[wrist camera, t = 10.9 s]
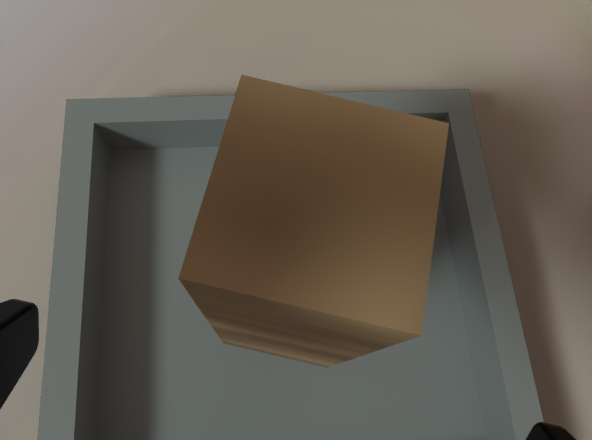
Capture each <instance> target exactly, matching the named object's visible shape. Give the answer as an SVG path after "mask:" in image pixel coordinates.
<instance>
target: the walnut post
mask: <svg viewBox="0 0 592 440" xmlns="http://www.w3.org/2000/svg"><path fill="white" fill-rule="evenodd" d="M448 128H449V123H445V122H441V121H437V120H433V119H428V118H424V117H420V116H415V115H411V114H407V113H403V112H398V111H394V110H390V109H386V108H381V107H377V106H373V105H368V104H364V103H360V102H356V101H351V100H347V99H343V98H339V97H334V96H330V95H326V94H321V93H317V92H313V91H309V90H304V89H300V88H296V87H292V86H287V85H283V84H279V83H275V82H270V81H266V80H262V79H257V78H253V77H249V76H245V75H241V78H240V82H239V85H238V88H237V91H236V94H235V98H234V101H233V104H232V107H231V110H230V114H229V117H228V120H227V123H226V126H225V130H224V133H223V136H222V139H221V143H220V146H219V149H218V152H217V155H216V159H215V162H214V165H213V168H212V171H211V175H210V178H209V181H208V184H207V187H206V191H205V194H204V197H203V200H202V204H201V207H200V210H199V213H198V216H197V220H196V223H195V226H194V229H193V232H192V236H191V239H190V242H189V245H188V249H187V252H186V255H185V258H184V261H183V265H182V268H181V271H180V274H179V277H178V279H179V280H180V282H181V283H182V285H183V286H184V287H185V289H186V290H187V292H188V293H189V295H190V296H191V298H192V299H193V300H194V302H195V303H196V305H197V306H198V308H199V309H200V311H201V312H202V313H203V315H204V316H205V318H206V319H207V321H208V322H209V324H210V325H211V326H212V328H213V329H214V331H215V332H216V334H217V335H218V337H219V338H220V339H221V341H222V342H223V343H224V344H228V345H232V346H237V347H241V348H245V349H249V350H254V351H258V352H262V353H266V354H271V355H275V356H279V357H283V358H288V359H292V360H296V361H300V362H305V363H309V364H313V365H317V366H322V367H326V368H328V367H331V366H334V365H337V364H340V363H343V362H346V361H349V360H352V359H355V358H358V357H361V356H363V355H366V354H369V353H372V352H375V351H378V350H381V349H384V348H387V347H390V346H393V345H396V344H399V343H402V342H404V341H407V340H410V339H413V338H416V337H419V336H422V329H423V321H424V313H425V305H426V298H427V290H428V282H429V275H430V267H431V259H432V251H433V244H434V236H435V228H436V220H437V213H438V205H439V197H440V189H441V182H442V174H443V166H444V158H445V151H446V143H447V135H448Z"/></svg>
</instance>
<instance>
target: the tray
mask: <svg viewBox="0 0 592 440" xmlns="http://www.w3.org/2000/svg"><path fill="white" fill-rule="evenodd" d="M321 94H326V95H330V96H334V97H339V98H343V99H347V100H351V101H356V102H360V103H364V104H368V105H373V106H377V107H381V108H386V109H390V110H394V111H398V112H403V113H407V114H411V115H415V116H420V117H424V118H428V119H433V120H437V121H441V122H445V123H449V128H448V135H447V143H446V151H445V158H444V166H443V174H442V182H441V189H440V197H439V205H438V213H437V220H436V228H435V236H434V244H433V251H432V259H431V267H430V275H429V282H428V290H427V298H426V305H425V313H424V321H423V329H422V336H419V337H416V338H413V339H410V340H407V341H404V342H402V343H399V344H396V345H393V346H390V347H387V348H384V349H381V350H378V351H375V352H372V353H369V354H366V355H363V356H361V357H358V358H355V359H352V360H349V361H346V362H343V363H340V364H337V365H334V366H331V367H328V368H326V367H322V366H317V365H313V364H309V363H305V362H300V361H296V360H292V359H288V358H283V357H279V356H275V355H271V354H266V353H262V352H258V351H254V350H249V349H245V348H241V347H237V346H232V345H228V344H224V343H223V342H222V341H221V339H220V338H219V337H218V335H217V334H216V332H215V331H214V329H213V328H212V326H211V325H210V324H209V322H208V321H207V319H206V318H205V316H204V315H203V313H202V312H201V311H200V309H199V308H198V306H197V305H196V303H195V302H194V300H193V299H192V298H191V296H190V295H189V293H188V292H187V290H186V289H185V287H184V286H183V285H182V283H181V282H180V280H179V279H178V277H179V274H180V271H181V268H182V265H183V261H184V258H185V255H186V252H187V249H188V245H189V242H190V239H191V236H192V232H193V229H194V226H195V223H196V220H197V216H198V213H199V210H200V207H201V204H202V200H203V197H204V194H205V191H206V187H207V184H208V181H209V178H210V175H211V171H212V168H213V165H214V162H215V159H216V155H217V152H218V149H219V146H220V143H221V139H222V136H223V133H224V130H225V126H226V123H227V120H228V117H229V114H230V110H231V107H232V104H233V101H234V98H235V95H217V96H177V97H137V98H97V99H66V111H65V122H64V134H63V146H62V157H61V169H60V181H59V193H58V204H57V216H56V228H55V240H54V251H53V263H52V275H51V286H50V298H49V310H48V322H47V333H46V345H45V357H44V369H43V380H42V392H41V404H40V416H39V427H38V439H37V440H526V438H527V436H528V434H529V433H530V431H531V429H532V427H533V426H534V425H535V424H536V423H538V422H544V421H543V416H542V412H541V407H540V403H539V398H538V394H537V390H536V385H535V381H534V376H533V372H532V368H531V363H530V359H529V354H528V350H527V346H526V341H525V337H524V332H523V328H522V323H521V319H520V315H519V310H518V306H517V301H516V297H515V293H514V288H513V284H512V279H511V275H510V271H509V266H508V262H507V257H506V253H505V248H504V244H503V240H502V235H501V231H500V226H499V222H498V218H497V213H496V209H495V204H494V200H493V196H492V191H491V187H490V182H489V178H488V173H487V169H486V165H485V160H484V156H483V151H482V147H481V143H480V138H479V134H478V129H477V125H476V120H475V116H474V112H473V107H472V103H471V98H470V94H469V90H468V89H456V90H416V91H377V92H337V93H321Z"/></svg>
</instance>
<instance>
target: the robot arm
mask: <svg viewBox="0 0 592 440" xmlns="http://www.w3.org/2000/svg"><path fill="white" fill-rule="evenodd" d="M38 342H39V316H38V308H37V306H36V305H35V304H34V303H30V302H26V301H22V300H18V299H11V300H7V301H5V302H2V303H0V409H1V407H2V406H3V404H4V403H5V401H6V399H7V398H8V396H9V395H10V393H11V391H12V390H13V388H14V386H15V385H16V383H17V382H18V380H19V378H20V377H21V375H22V374H23V372H24V370H25V369H26V367H27V365H28V364H29V362H30V361H31V359H32V357H33V356H34V354H35V352H36V350H37V347H38ZM526 440H576V439H575V438H574V437H573V436H572V435H571V434H570V433H568V432H567V431H566V430H565V429H564V428H562V427H560V426H557V425H553V424H549V423H544V422H538V423H536V424H535V425H534V426H533V427H532V429H531V431H530V433H529V434H528V436H527V438H526Z"/></svg>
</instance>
